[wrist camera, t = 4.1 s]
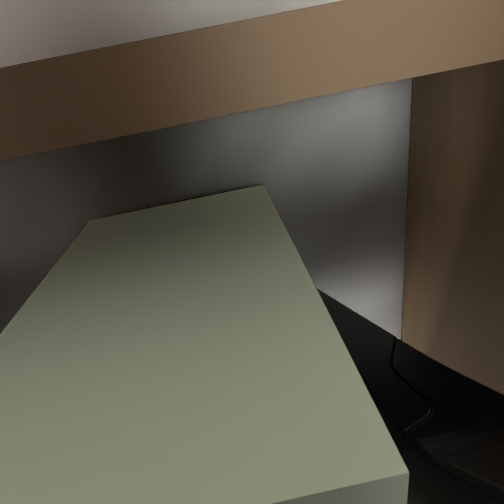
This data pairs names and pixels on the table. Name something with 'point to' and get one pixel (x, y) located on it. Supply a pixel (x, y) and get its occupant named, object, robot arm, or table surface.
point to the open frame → (315, 85)
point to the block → (187, 371)
